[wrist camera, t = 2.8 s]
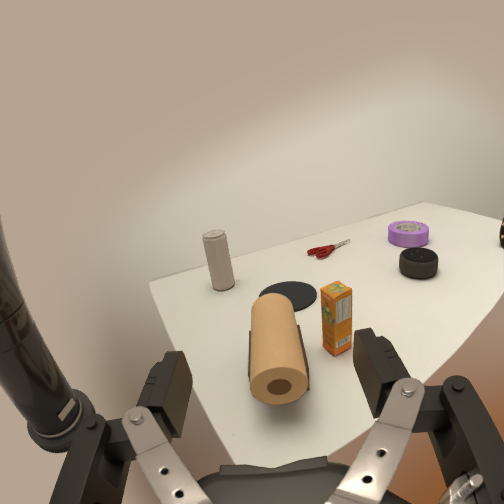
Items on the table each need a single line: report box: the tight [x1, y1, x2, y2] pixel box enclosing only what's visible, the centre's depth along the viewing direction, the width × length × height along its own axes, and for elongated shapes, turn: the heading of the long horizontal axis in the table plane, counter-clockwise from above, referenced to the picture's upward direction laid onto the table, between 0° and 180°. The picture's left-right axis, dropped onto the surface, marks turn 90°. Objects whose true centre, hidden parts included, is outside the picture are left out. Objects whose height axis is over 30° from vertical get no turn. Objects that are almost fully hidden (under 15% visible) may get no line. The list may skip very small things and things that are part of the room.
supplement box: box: [320, 281, 352, 356], centre depth 38 cm, size 3×3×10 cm
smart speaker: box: [399, 247, 438, 278], centre depth 55 cm, size 9×9×4 cm
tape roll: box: [388, 221, 429, 248], centre depth 71 cm, size 12×12×4 cm
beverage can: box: [203, 230, 235, 290], centre depth 61 cm, size 5×5×12 cm
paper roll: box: [250, 293, 308, 405], centre depth 32 cm, size 6×14×6 cm, turn 0°
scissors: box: [307, 239, 350, 258], centre depth 74 cm, size 5×14×1 cm, turn 121°
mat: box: [259, 281, 317, 312], centre depth 55 cm, size 11×11×1 cm
